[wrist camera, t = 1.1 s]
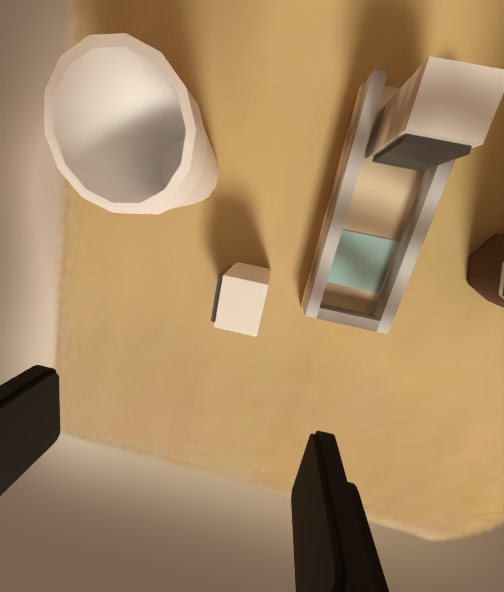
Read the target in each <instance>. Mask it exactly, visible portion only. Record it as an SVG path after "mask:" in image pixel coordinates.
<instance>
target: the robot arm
mask: <svg viewBox="0 0 504 592" xmlns="http://www.w3.org/2000/svg"><path fill="white" fill-rule="evenodd" d="M59 434H60V401H59V375H58V374H56V370H55V369H53V368H49V367H45V366H40V365H35V366H33V367H31V368H30V369H28V370H26V371H24V372H23V373H21V374H19V375H18V376H16V377H14V378H12V379H11V380H9V381H7V382H5V383H4V384H2V385H0V496H1V495H2V493H4V492H5V491H6V490H7V489H8V488H9V487H10V486H11V485H12V484H13V483H14V482H15V481H16V480H17V479H18V478H19V477H20V476H21V475H22V474H23V473H24V472H25V471H26V470H27V469H28V468H29V467H30V466H31V465H32V464H33V463H34V462H35V461H36V460H37V459H38V458H39V457H40V456H41V455H43V453H45V452H46V451H47V450H48V449H49V448H50V447H51V446H52V445H53V444H54V443H55V441H56V440H57V439H58V437H59ZM291 505H292V524H293V544H294V561H295V562H294V563H295V583H296V592H389V590H388V587H387V583H386V580H385V577H384V574H383V570H382V567H381V564H380V560H379V557H378V554H377V551H376V547H375V544H374V541H373V538H372V534H371V531H370V528H369V524H368V521H367V518H366V515H365V511H364V508H363V505H362V501H361V498H360V495H359V492H358V489H357V487H356V486H355V484H353V483H350V482H347V479H346V475H345V471H344V468H343V464H342V460H341V457H340V453H339V449H338V446H337V442H336V438H335V436H334V435H333V434H330V433H326V432H321V431H317V432H316V433H315V434H311V435H310V437H309V440H308V443H307V446H306V449H305V452H304V455H303V458H302V461H301V464H300V467H299V470H298V473H297V476H296V479H295V483H294V486H293V489H292V495H291Z"/></svg>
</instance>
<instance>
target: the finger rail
mask: <svg viewBox="0 0 504 592" xmlns="http://www.w3.org/2000/svg"><path fill="white" fill-rule="evenodd" d="M387 75H388V71H385V70H380V69H373V71H372V72H371V74H370V76H369V77H368V79H367V80H366V81H363V83H362V84H361V86H360V88H359V89H358V93H357V97H356V101H355V104H354V108H353V112H352V116H351V119H350V123H349V127H348V130H347V134H346V138H345V142H344V145H343V149H342V153H341V156H340V160H339V164H338V168H337V171H336V175H335V179H334V183H333V186H332V190H331V194H330V197H329V201H328V205H327V209H326V212H325V216H324V220H323V224H322V227H321V231H320V235H319V238H318V242H317V246H316V250H315V253H314V257H313V261H312V264H311V268H310V272H309V276H308V279H307V283H306V287H305V291H304V294H303V298H302V302H301V309H302V310H304V314H305V316H308V317H312V318H317V319H321V320H326V321H330V322H335V323H340V324H344V325H349V326H353V327H358V328H362V329H367V330H371V331H376V332H380V333H385V334H388V333H389V330H390V327H391V325H392V322H393V320H394V317H395V315H396V312H397V309H398V307H399V304H400V302H401V299H402V296H403V294H404V291H405V289H406V286H407V284H408V281H409V278H410V276H411V273H412V271H413V268H414V265H415V263H416V260H417V258H418V255H419V253H420V250H421V247H422V245H423V242H424V240H425V237H426V234H427V232H428V229H429V227H430V224H431V221H432V219H433V216H434V214H435V211H436V209H437V206H438V203H439V201H440V198H441V196H442V193H443V190H444V188H445V185H446V183H447V180H448V178H449V175H450V172H451V170H452V167H453V165H454V162H455V159H457V158H460V157H462V156H465V155H468V154H469V153H470V150H471V149H472V148H475V147H477V146H480V145H483V142H484V140H485V137H486V135H487V133H488V130H489V128H490V125H491V123H492V120H493V118H494V115H495V113H496V111H497V108H498V106H499V103H500V101H501V98H502V96H503V93H504V69H499V68H493V67H488V66H482V65H476V64H471V63H465V62H460V61H454V60H449V59H443V58H437V57H432V56H429V57H428V58H427V59H426V60H425V62H424V63H423V64H422V65H421V66H420V67H419V68H418V69H417V70H416V71H415V73H414V74H413V75H412V76H411V77H410V78H409V79H408V80H407V81H406V83H405V84H404V85H403V86H402V87H401V88H399V87H393V86H388V85H385V82H386V78H387Z"/></svg>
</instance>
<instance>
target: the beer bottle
mask: <svg viewBox="0 0 504 592" xmlns="http://www.w3.org/2000/svg"><path fill="white" fill-rule="evenodd" d="M468 284H469V285H470V286H471V287H472V288H474V289H475V290H476V291H477V292H478V293H479V294H481V295H482V296H483V297H484V298H485V299H486V300H488V301H490V302H492V303H494V304H497V305H499V306H501V307H504V234H498V235H494V236H492V237H491V238H490V239H489V240H488V241H487V242H486V243H485V244H484V245H483V246H481V247H480V248H479V249H478V250H477V251H476V252H475V253H474V254H473V255H472V256H471V257H470V262H469V273H468Z"/></svg>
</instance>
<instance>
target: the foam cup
mask: <svg viewBox="0 0 504 592" xmlns="http://www.w3.org/2000/svg"><path fill="white" fill-rule="evenodd" d="M44 127H45V128H44V131H45V135H46V137H47V140H48V143H49V146H50V148H51V151H52V154H53V156H54V159H55V162H56V164H57V167H58V169H59V171H60V172H61V173H62V174H63V175H64V177H65V178H66V179H67V180H68V181H69V182H70V184H71V185H72V186H73V187H74V188H75V189H76V191H77V192H78V193H79V194H80V195H81V197H83V198H85V199H87V200H89V201H91V202H93V203H95V204H96V205H98V206H100V207H102V208H104V209H106V210H108V211H110V212H113V213H129V214H160V213H162V212H164V211H166V210H168V209H172V208H177V207H181V206H186V205H191V204H195V203H198V202H200V201H202V200H204V199H206V198H208V197H209V196H210V195H211V193H212V192H213V190H214V189H215V188H216V186H217V180H218V175H219V170H218V166H217V161H216V158H215V154H214V152H213V149H212V147H211V144H210V142H209V139H208V137H207V134H206V131H205V129H204V126H203V122H202V118H201V113H200V109H199V106H198V104H197V103H196V101H195V100H194V98H193V97H192V95H191V94H190V92H189V91H188V89H187V88H186V86H185V85H184V84H183V82H182V81H181V79H180V78H179V77H178V75H177V74H176V72H175V71H174V70H173V68H172V67H171V65H170V64H169V63H168V61H167V60H166V58H165V57H164V56H163V54H162V53H161V52H160V51H158V50H156V49H154V48H152V47H151V46H149V45H147V44H145V43H143V42H141V41H140V40H138V39H136V38H134V37H132V36H130V35H129V34H127V33H117V34H98V35H88V36H87V37H86V38H84V39H83V40H82V41H80V42H79V43H78V44H76V45H75V46H74V47H72V48H71V49H70V50H68V51H67V52H66V53H64V54H63V55H62V56H61V57H60V58H59V60H58V63H57V65H56V67H55V70H54V72H53V74H52V76H51V79H50V81H49V83H48V85H47V88H46V90H45V123H44Z"/></svg>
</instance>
